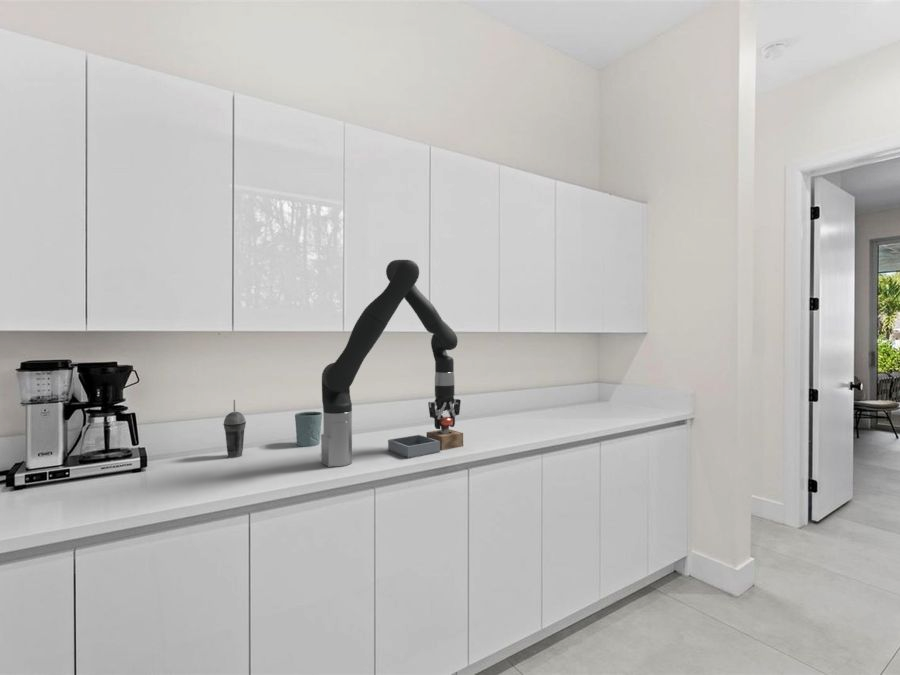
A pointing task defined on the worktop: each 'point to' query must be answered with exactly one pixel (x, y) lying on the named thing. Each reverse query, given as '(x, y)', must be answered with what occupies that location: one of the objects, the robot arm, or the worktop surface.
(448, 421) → the pin
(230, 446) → the beverage cup
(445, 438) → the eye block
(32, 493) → the worktop surface
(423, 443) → the tray
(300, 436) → the teal tapered cylinder
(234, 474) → the worktop surface
